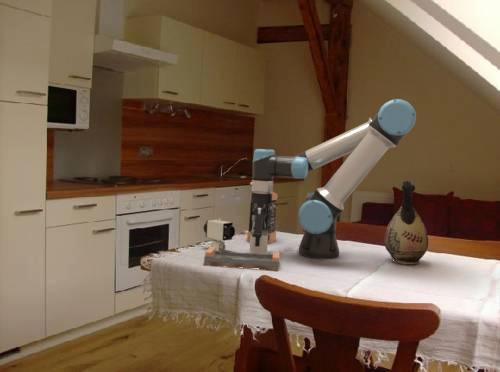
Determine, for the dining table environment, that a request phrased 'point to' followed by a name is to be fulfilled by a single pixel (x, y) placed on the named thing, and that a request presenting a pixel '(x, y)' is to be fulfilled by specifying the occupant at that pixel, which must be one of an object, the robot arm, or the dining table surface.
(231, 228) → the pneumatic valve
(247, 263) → the rail board
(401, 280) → the dining table surface
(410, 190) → the ceramic jug
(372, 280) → the dining table surface
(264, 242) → the din module
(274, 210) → the whiskey bottle
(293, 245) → the dining table surface
